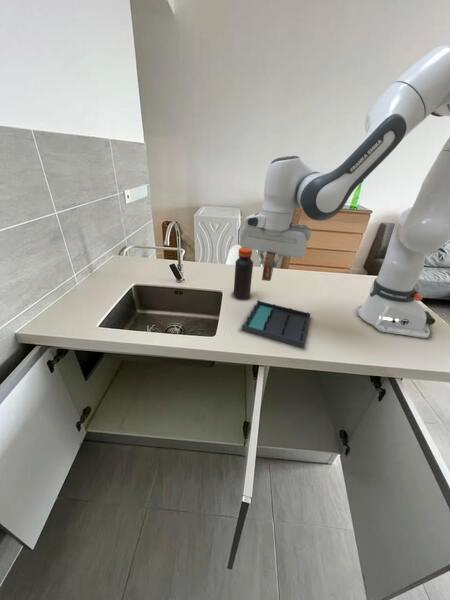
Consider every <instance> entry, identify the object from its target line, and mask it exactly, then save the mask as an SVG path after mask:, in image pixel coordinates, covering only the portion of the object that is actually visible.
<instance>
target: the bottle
mask: <svg viewBox="0 0 450 600" xmlns="http://www.w3.org/2000/svg"><path fill="white" fill-rule="evenodd" d="M252 254H253V249H248V248H242V247H239V248H238V258H237V259H236V261H235V266H234V267H235V268H234V281H233V297H234V298H236V299H237V300H247V299H248V298H249V299H250V296H251V288H252V278H253V270H254V268H253V267H254V262H253V260H252V259H251V258H252Z"/></svg>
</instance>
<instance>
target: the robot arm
mask: <svg viewBox="0 0 450 600" xmlns="http://www.w3.org/2000/svg"><path fill="white" fill-rule="evenodd" d="M430 115H431V116H434V117H439V118H440V117H450V43H448V44H442V45H439V46H437V47H435V48H433V49H431V50H430V51H429V52H427V53H426V54H425V55H423V56H422V57H420V58H419V59H418V60H417V61H416V62H414V63H413V64H412V65H411V66H410V67H408V69H406V70H405V71H404V72H403V73H402V74H400V76H399V77H397V79H395V80H394V81H393V82H392V83H391V84H390V85H389V86H388V87H387V88H386V89H385V90H384V92H382V93H381V94H380V96H379V97H378V98H377V99H376V101H375V102H374V103H373V104H372V106H371V107H370V108H369V110H368V111H367V113H366V116H365V121H364V127H365V128H364V129H365V134H366V135H365V136H364V138H363V139H362V141H361V142H360V143H359V144H358V145H356V147H355V148H354V149H353V150H352V151H351V152H350V153H349V154H348V155H347V157H345V158H344V159H343V160H342V161H341V163H340V164H339V165H338V166H336V168H334V169H333V170H331V171H329V172H326V173H322V172H320V171H318V170H315V169H313V168H312V167H311V166H309V165H308V164H306V163H305V162H304V160H302V159H301V157H300V156H297V155H288V156H282V157H277V158H274V159H273V160H272V161H271V162H270V163H269V164H268V167H267V171H266V175H265V180H264V187H263V204H262V206H261V212H256V213H253V214H250V215H248V216H246V217H245V218H244V222H243V223H244V226H243V227H242V228H241V231H240V235H239V241H238V242H239V246H240V248H248V249H252V251H253V250H254V251H257V255H258V258H259V265H263V266H264V262H265V256H264V253H267V252H269V253H274V254H275V255H277V258H278V259H274V262H273V268H278V267H279V264H280V262H281V260H282V259H283V258H284V256H285V257H291V258H296V259H302V258H304V257H305V255H306V253H307V247H308V241H309V240H310V239H311V236H312V230H311V228H310V227H309V226H308V225H306V224H299V223H294V222H292V220H293V215H294V210H295V209H301V210H302V211H303V212H304V214H305V215H306V216H307V217H308V218H310V219H311V220H314V221H326V220H330V219H332V218H334V217H335V216H337V215H338V214H339V213H340V212H341V211H342V210H343V208H344V207H345V205H346V204H347V202H348V200H349V199H350V197H351V196H352V194H353V192H354V191H355V190H356V189H357V187H358V186H359V185H361V183H363V182H364V181H365V180H366V178H367V177H369V176H370V174H371V173H373V171H374V170H376V168H378V166H379V165H380V164H381V163H382V162H384V161H385V159H387V158H388V157H389V156H390V154H391V153H392V152H393V151H394V150H395V149H396V148H397V147H398V145H399V144H400V143H401V142H402V141H403V139H404V138H406V137H407V136H408V135H409V134H410V133H411V132H412V131H413V130H415V129H416V128H417V127H418V126H419V125H420V124H421V123H423V122H424V121H425V120H426V119H427V118H428V117H429V116H430ZM449 238H450V136H449V137H448V139H447V140H446V141H445V143H444V145H443V146H442V148H441V150H440V151H439V153H438V155H437V157H436V158H435V160H434V162H433V164H432V165H431V166H430V169H429V170H428V172H427V174H426V176H425V178H424V179H423V181H422V183H421V187H420V189H419V192H418V194H417V197H416V199H415V201H414V203H413V205H412V206H411V207H408V208H407V209H405V210H403V211H401V213H400V214H399V215H398V217H397V219H396V221H395V224H394V227H393V229H392V233H391V236H390V238H389V242H388V246H387V249H386V253H385V256H384V258H383V261H382V264H381V267H380V269H379V272H378V275H377V277H376V278H375V279H374V280H373V282H372V284H371V287H370V289H369V295H368V296H367V298H366V299H365V301H364V303H363V304H362V306H360V308H359V309H358V311H357V313H358V315H359V317H360V318H361V319H362V320H363V321H364V322H366V323H367V324H370V325H371V326H373V327H374V328H376V329H377V330H378V331H379V332H383V333H386V334H387V333H388V334H395V335H402V336H407V337H416V338H422V339H428V338H429V337H430V334H431V330H430V327H429V326H432V325H434V324H435V323H436V319H435V318H434V317H433V316H432V314H430V312H429V311H427V310H425V309H424V308H423V307H422V305H421V304H419V302H420V301H422V300H423V295H422V294H421V293H419V291H418V290H417V289H416V288H415V286H416V284H417V282H418V280H419V278H420V276H421V274H422V272H423V270H424V268H425V262H426V257H427V254H428V253H432V252H435V251H437V250H439V249H441V248H442V247H444V246H445V245H446V243H447V242H448V241H449Z"/></svg>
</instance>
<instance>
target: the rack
mask: <svg viewBox="0 0 450 600" xmlns="http://www.w3.org/2000/svg"><path fill="white" fill-rule="evenodd" d="M310 319H311V313H309V312H306V311H301V310H297V309H293V308H290V307H285V306H281V305H277V304H276V303H274V304H273V303H269V302H265V301H260V299H259V300H258V299H257V300H256V304H255V305H254V306H253V310H251V311H250V315H249V316H247V318H246V321H245V323H244V324H242V327H241V331H243V332H245V333H249V334H254V335H255V336H256V335H257V336H260V337H263V338H267V339H270V340H273V341H277V342H280V343H283V344H287V345H290V346H294V347H297V348H301V349H303V348H304V345H305V341H306V335H307V331H308V326H309V322H310Z"/></svg>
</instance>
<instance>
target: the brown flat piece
mask: <svg viewBox="0 0 450 600" xmlns="http://www.w3.org/2000/svg"><path fill="white" fill-rule="evenodd" d="M264 258H265V262H264V265H263V268H262V277H261V281H266V282H271V280H272V276H273V272H274V267H273V262H274V260H275V258H276V254H274V253H269V252H266V254H265V256H264Z"/></svg>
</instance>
